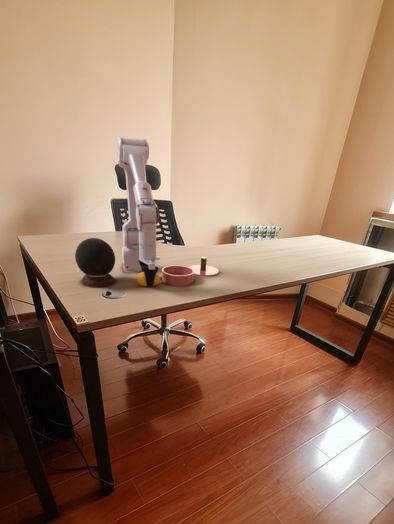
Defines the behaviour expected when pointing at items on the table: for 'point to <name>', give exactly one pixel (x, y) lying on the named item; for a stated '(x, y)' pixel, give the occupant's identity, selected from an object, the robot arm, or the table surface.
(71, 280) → the table surface
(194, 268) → the lid
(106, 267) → the dark ball on stand
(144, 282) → the yellow rounded oblong piece
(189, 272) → the pot
